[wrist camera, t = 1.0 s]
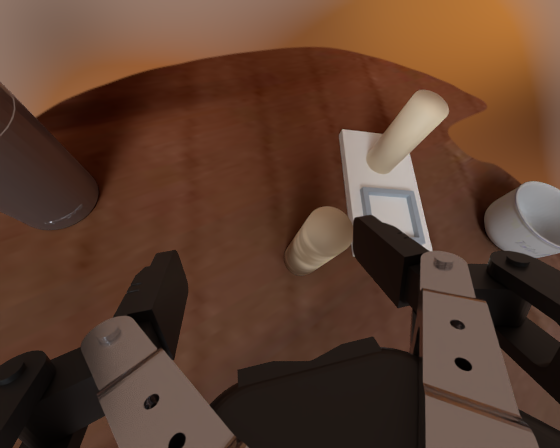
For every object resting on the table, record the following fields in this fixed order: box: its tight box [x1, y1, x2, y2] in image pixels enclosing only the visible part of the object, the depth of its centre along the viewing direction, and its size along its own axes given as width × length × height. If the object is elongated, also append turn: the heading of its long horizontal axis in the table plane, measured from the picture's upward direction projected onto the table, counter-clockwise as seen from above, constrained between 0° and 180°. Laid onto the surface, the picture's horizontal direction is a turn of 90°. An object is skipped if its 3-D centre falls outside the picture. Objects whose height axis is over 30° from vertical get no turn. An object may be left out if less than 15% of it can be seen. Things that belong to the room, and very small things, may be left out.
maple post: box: [284, 206, 353, 276], centre depth 30 cm, size 5×5×12 cm
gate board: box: [339, 90, 449, 257], centre depth 36 cm, size 22×12×14 cm, turn 0°
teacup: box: [484, 181, 560, 258], centre depth 40 cm, size 14×11×8 cm
